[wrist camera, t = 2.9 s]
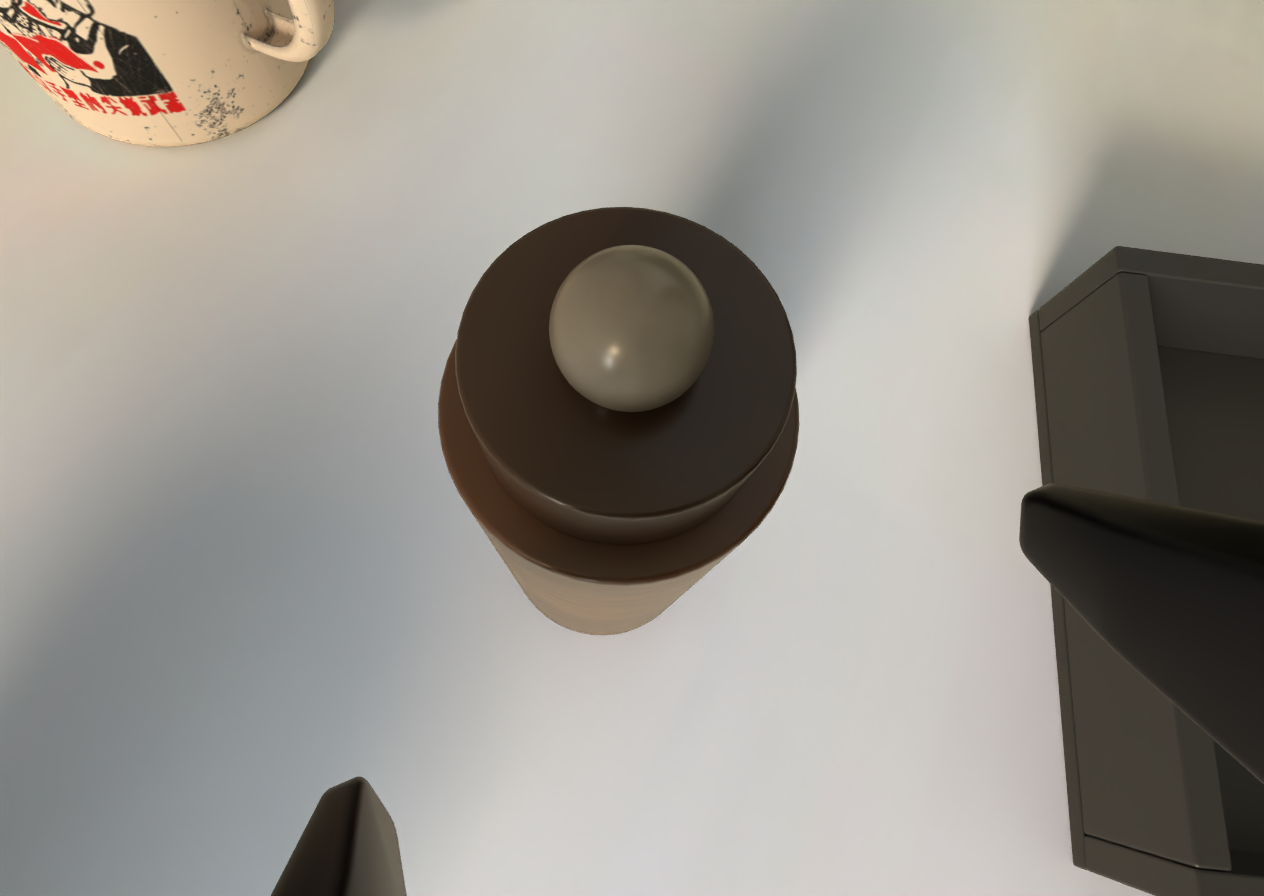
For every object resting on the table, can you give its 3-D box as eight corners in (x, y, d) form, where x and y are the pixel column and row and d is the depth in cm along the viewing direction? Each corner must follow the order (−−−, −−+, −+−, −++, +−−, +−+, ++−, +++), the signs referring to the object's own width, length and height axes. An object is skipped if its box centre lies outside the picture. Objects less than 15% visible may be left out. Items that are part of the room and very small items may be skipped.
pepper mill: (684, 645, 19) (892, 571, 6) (497, 624, 19) (317, 506, 6) (698, 466, 21) (886, 116, 8) (525, 446, 21) (430, 55, 8)
